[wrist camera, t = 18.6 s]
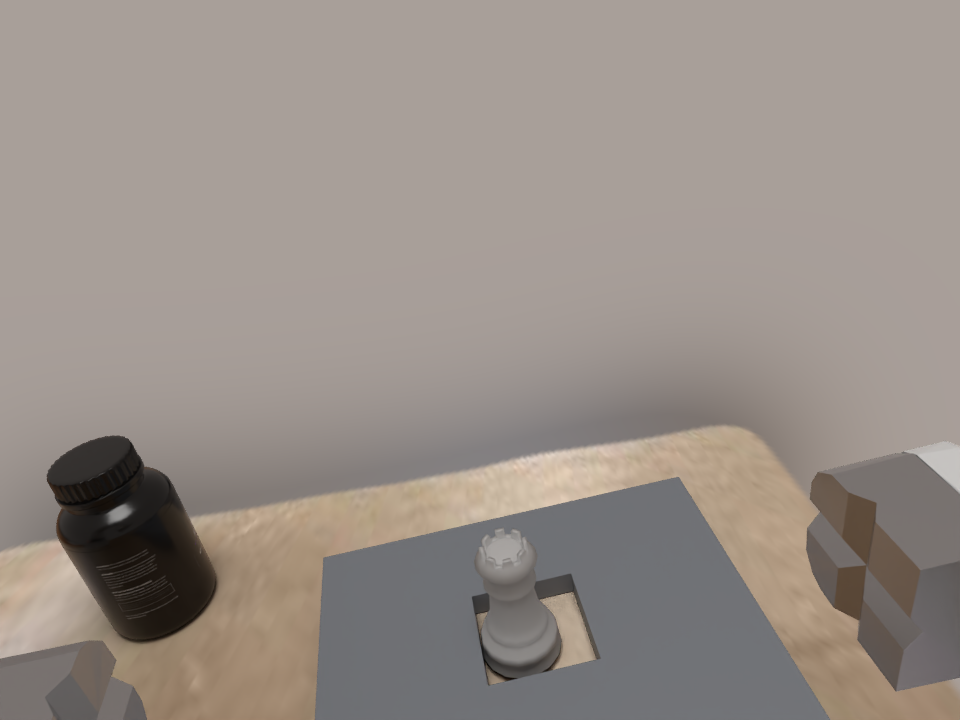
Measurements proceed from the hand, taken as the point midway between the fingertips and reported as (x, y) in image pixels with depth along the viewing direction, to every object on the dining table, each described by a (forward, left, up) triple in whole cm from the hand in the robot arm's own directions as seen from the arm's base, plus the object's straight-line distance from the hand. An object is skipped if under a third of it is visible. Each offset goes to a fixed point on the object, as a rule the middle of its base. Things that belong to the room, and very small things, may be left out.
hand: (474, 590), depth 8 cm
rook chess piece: (+1, +21, -28) cm, 35 cm away
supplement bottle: (-21, +31, -28) cm, 47 cm away
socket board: (+2, +21, -28) cm, 35 cm away
